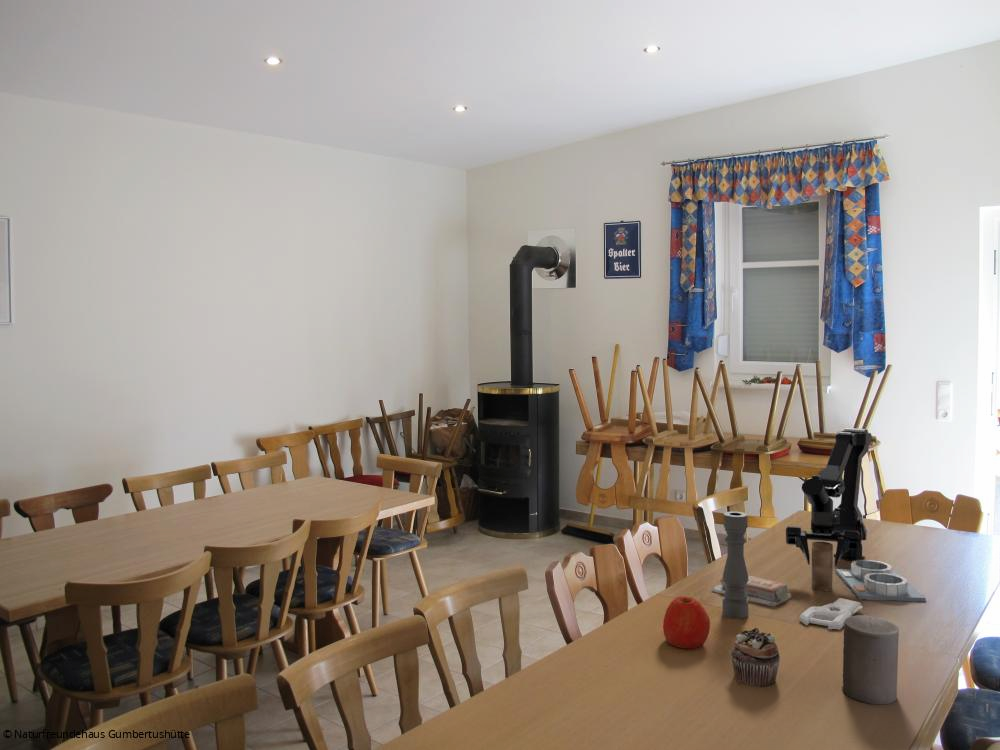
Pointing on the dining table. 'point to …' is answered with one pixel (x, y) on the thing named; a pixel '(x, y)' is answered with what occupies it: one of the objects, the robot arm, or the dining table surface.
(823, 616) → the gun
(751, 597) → the packaged product
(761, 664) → the cupcake
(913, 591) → the socket board
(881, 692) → the pillar candle
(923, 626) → the dining table surface
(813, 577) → the walnut peg
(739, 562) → the candle holder
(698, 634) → the apple
